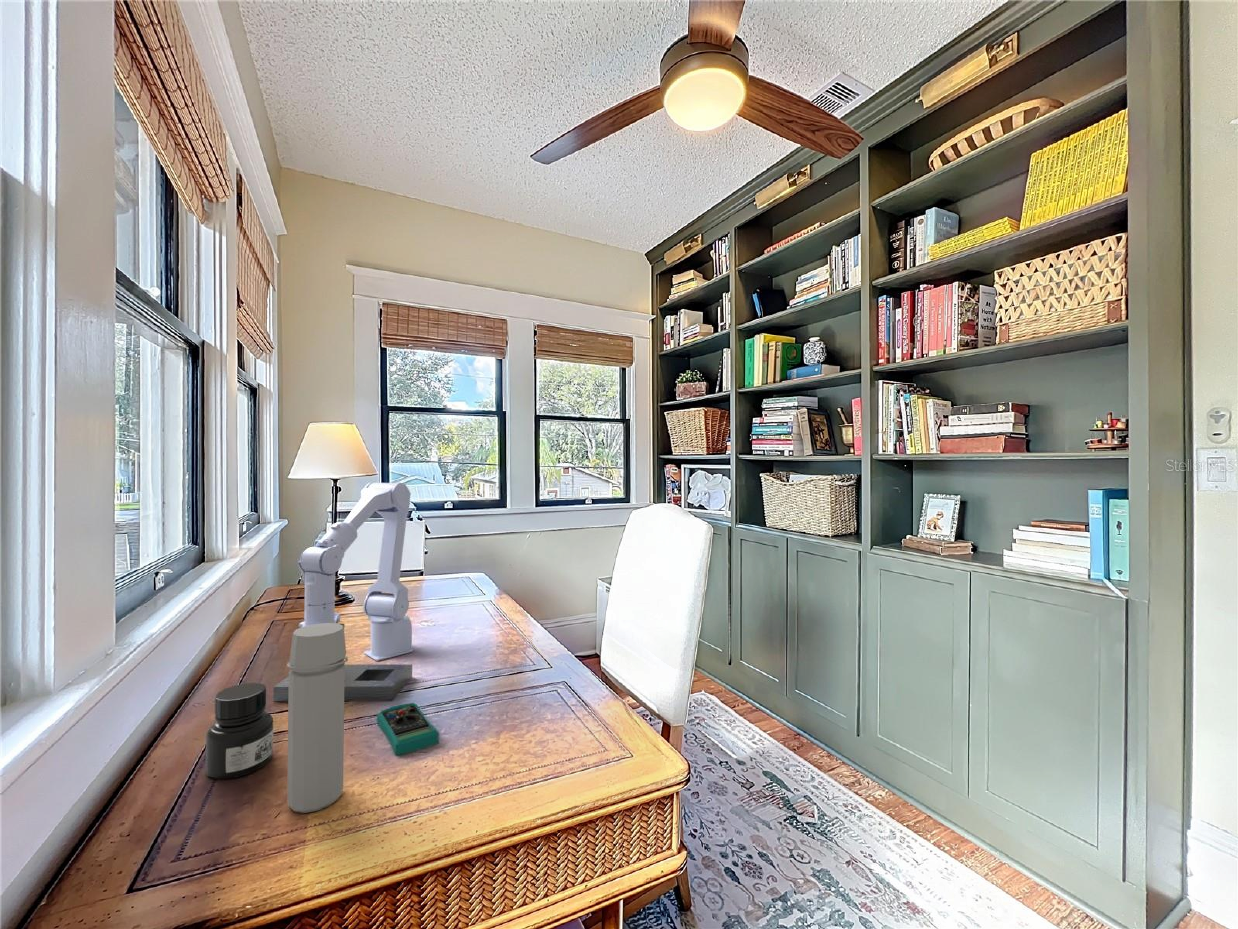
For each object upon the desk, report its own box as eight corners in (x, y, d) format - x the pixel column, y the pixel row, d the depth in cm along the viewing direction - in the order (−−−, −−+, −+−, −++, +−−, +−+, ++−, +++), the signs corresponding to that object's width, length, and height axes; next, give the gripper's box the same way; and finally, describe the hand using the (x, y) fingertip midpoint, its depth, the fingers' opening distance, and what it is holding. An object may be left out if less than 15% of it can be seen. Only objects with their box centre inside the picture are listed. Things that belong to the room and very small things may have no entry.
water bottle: (332, 815, 75) (334, 637, 74) (273, 818, 74) (275, 638, 74) (359, 777, 84) (360, 618, 84) (307, 778, 83) (308, 618, 83)
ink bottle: (237, 785, 81) (237, 707, 81) (188, 779, 83) (189, 702, 83) (287, 751, 91) (288, 681, 91) (242, 746, 92) (243, 677, 92)
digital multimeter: (415, 713, 106) (415, 699, 106) (439, 746, 94) (439, 729, 94) (375, 724, 101) (375, 709, 101) (395, 760, 89) (396, 742, 89)
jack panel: (412, 677, 122) (412, 664, 122) (391, 700, 110) (392, 686, 110) (305, 677, 121) (305, 664, 121) (273, 701, 109) (273, 686, 109)
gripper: (318, 594, 123) (318, 652, 123) (281, 611, 108) (280, 678, 108) (349, 594, 123) (349, 652, 123) (316, 611, 108) (315, 678, 108)
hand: (319, 664), depth 116 cm, fingers open, 7 cm apart
